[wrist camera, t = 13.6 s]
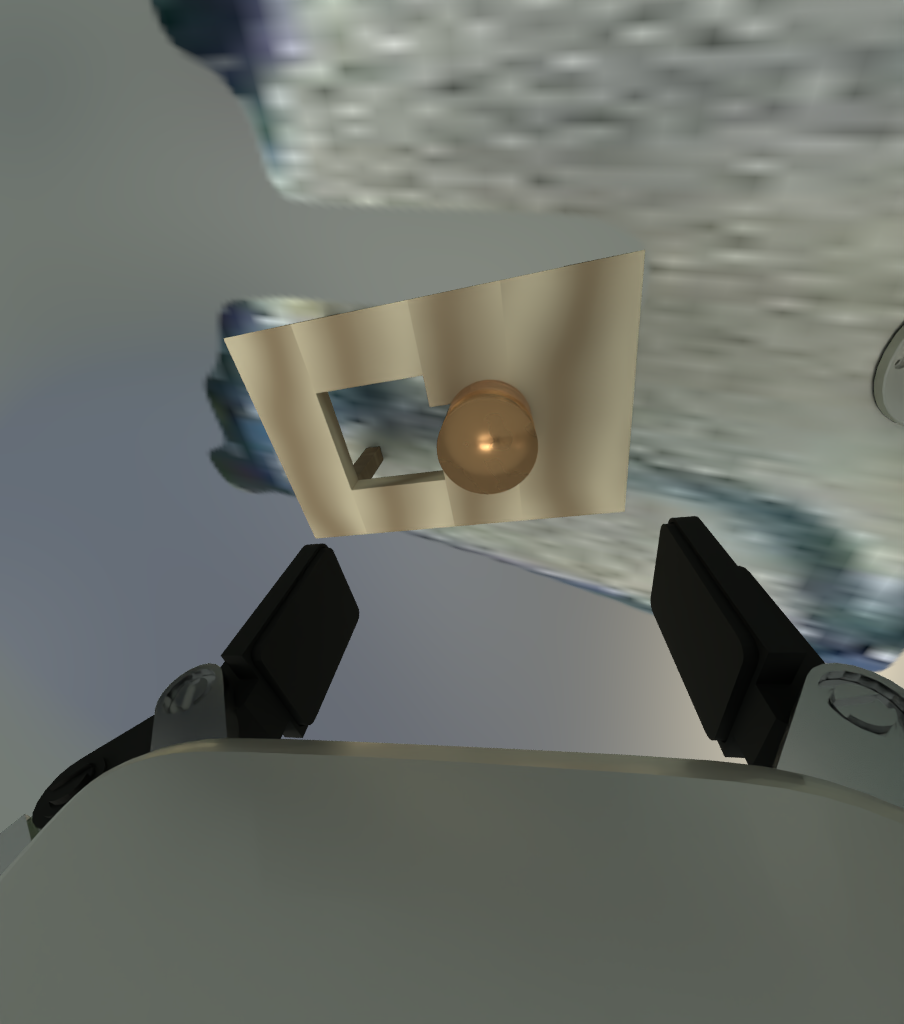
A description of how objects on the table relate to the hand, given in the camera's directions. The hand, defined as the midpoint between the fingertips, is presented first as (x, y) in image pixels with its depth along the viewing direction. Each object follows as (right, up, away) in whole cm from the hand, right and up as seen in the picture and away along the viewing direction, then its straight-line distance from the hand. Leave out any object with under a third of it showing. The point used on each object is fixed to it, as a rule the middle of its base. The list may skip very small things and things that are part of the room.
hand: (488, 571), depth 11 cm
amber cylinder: (+2, +12, +19) cm, 23 cm away
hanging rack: (0, +14, +23) cm, 27 cm away
